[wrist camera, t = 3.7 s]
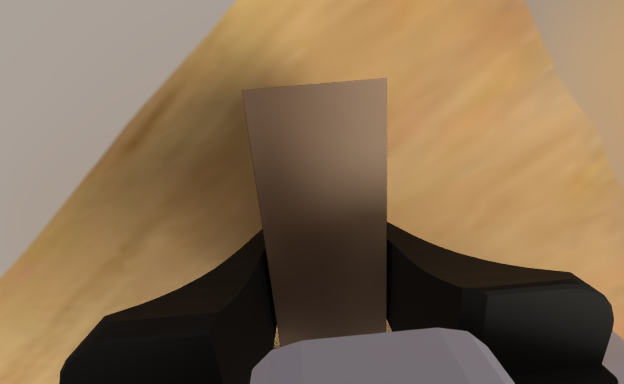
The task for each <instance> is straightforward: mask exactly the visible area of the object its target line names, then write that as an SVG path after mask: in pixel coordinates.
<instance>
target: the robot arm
mask: <svg viewBox="0 0 624 384" xmlns="http://www.w3.org/2000/svg"><path fill="white" fill-rule="evenodd" d="M386 318H387V321H388V323H389V325H390V327H391V330H392V332H385V333H375V334H364V335H354V336H343V337H333V338H323V339H312V340H302V341H299V342H296V343H292V344H289V345H286V346H283V347H280V348H277V349H273V346H274V339H275V333H276V327H277V320H276V314H275V307H274V300H273V294H272V287H271V280H270V274H269V267H268V260H267V254H266V247H265V240H264V234H263V229H262V230H261V231H259V232H258V233H257V234H256V235H255V236H254V237H253V238H252V239H251V240H250V241H249V242H247V243H246V244H245V245H244V246H243V247H242V248H241V249H240V250H238V251H237V252H236V253H235V254H233V255H232V256H231V257H230V258H228V259H227V260H226V261H225V262H223V263H222V264H221V265H219V266H218V267H216V268H215V269H213V270H212V271H210V272H208V273H207V274H205V275H204V276H202V277H200V278H198V279H196V280H194V281H193V282H191V283H189V284H187V285H185V286H183V287H181V288H179V289H177V290H175V291H173V292H170V293H168V294H166V295H164V296H161V297H159V298H156V299H154V300H151V301H149V302H146V303H143V304H140V305H137V306H134V307H131V308H128V309H125V310H122V311H119V312H116V313H113V314H110V315H107V316H104V317H103V319H102V320H101V321H100V322H99V323H98V324H97V325H96V327H95V328H94V329H93V330H92V331H91V332H90V333H89V334H88V336H87V337H86V338H85V339H84V340H83V341H82V342H81V344H80V345H79V346H78V347H77V348H76V349H75V350H74V352H73V353H72V354H71V355H70V356H69V357H68V358H67V359H66V361H65V363H64V365H63V367H62V369H61V371H60V382H59V384H624V339H622V338H621V337H620V336H618V335H617V334H616V333H614V332H613V331H612V328H613V322H614V316H613V311H612V306H611V304H610V303H609V301H608V300H607V298H606V297H605V296H604V295H603V294H602V293H600V292H599V291H597V290H596V289H594V288H593V287H591V286H590V285H588V284H587V283H585V282H584V281H582V280H581V279H579V278H578V277H577V276H575V275H574V274H572V273H570V272H562V271H552V270H543V269H533V268H525V267H519V266H513V265H507V264H501V263H496V262H491V261H486V260H482V259H478V258H474V257H470V256H466V255H463V254H459V253H456V252H453V251H450V250H447V249H444V248H442V247H439V246H436V245H434V244H431V243H429V242H427V241H424V240H422V239H420V238H418V237H416V236H414V235H411V234H409V233H408V232H406V231H404V230H402V229H400V228H398V227H396V226H394V225H392V224H390V223H388V222H387V261H386Z"/></svg>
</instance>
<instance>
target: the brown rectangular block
mask: <svg viewBox="0 0 624 384" xmlns="http://www.w3.org/2000/svg"><path fill="white" fill-rule="evenodd" d="M242 94H243V100H244V107H245V114H246V120H247V127H248V134H249V140H250V147H251V154H252V160H253V167H254V174H255V180H256V187H257V194H258V200H259V207H260V214H261V220H262V227H263V234H264V240H265V247H266V254H267V260H268V267H269V274H270V280H271V287H272V294H273V300H274V307H275V314H276V320H277V327H278V334H279V340H280V347H283V346H286V345H289V344H292V343H296V342H299V341H302V340H312V339H323V338H333V337H343V336H354V335H364V334H375V333H385V332H386V261H387V78H380V79H368V80H356V81H345V82H333V83H321V84H309V85H298V86H286V87H274V88H262V89H250V90H242Z"/></svg>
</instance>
